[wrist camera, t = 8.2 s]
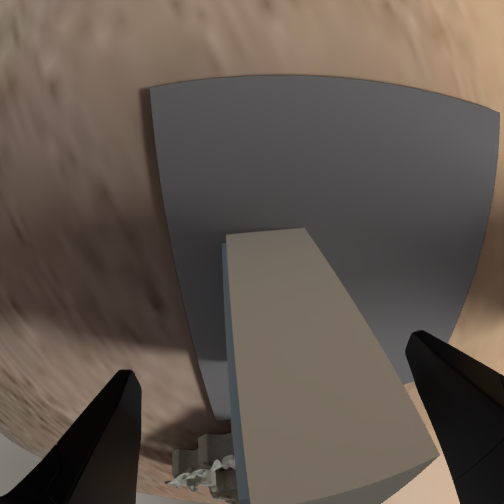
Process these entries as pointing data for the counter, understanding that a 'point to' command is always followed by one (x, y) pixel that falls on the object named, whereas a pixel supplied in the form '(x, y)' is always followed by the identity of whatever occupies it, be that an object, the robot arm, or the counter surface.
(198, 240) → the mat
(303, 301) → the card box
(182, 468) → the egg carton
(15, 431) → the counter surface
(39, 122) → the counter surface
